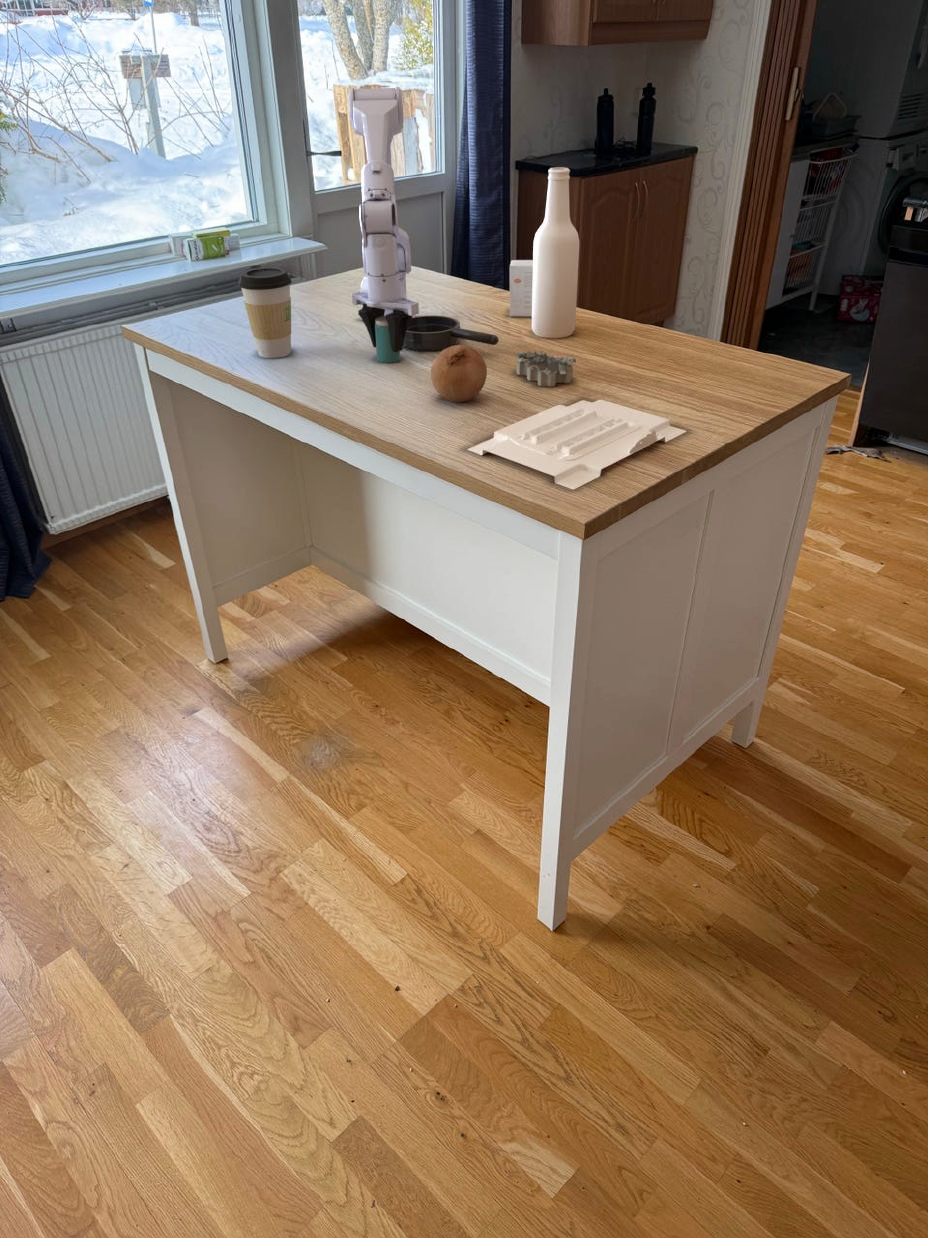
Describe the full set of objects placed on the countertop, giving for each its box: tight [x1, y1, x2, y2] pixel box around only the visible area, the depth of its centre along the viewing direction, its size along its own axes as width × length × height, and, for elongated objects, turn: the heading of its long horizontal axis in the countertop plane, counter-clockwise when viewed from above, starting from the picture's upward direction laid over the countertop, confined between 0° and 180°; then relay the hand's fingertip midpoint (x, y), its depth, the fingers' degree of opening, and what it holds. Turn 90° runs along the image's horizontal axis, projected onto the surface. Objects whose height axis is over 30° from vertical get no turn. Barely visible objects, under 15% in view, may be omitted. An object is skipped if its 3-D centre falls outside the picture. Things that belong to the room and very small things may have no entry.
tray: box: [466, 399, 687, 490], centre depth 135 cm, size 20×28×4 cm
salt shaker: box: [374, 316, 401, 364], centre depth 168 cm, size 4×4×8 cm
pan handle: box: [451, 327, 499, 346], centre depth 171 cm, size 11×2×2 cm, turn 53°
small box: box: [509, 259, 533, 318], centre depth 191 cm, size 8×6×10 cm
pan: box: [403, 315, 461, 352], centre depth 177 cm, size 12×12×4 cm
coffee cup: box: [238, 266, 293, 359], centre depth 170 cm, size 10×10×15 cm
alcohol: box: [531, 166, 580, 339], centre depth 174 cm, size 9×9×30 cm
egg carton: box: [513, 350, 577, 388], centre depth 158 cm, size 11×8×4 cm
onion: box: [430, 344, 488, 403], centre depth 149 cm, size 10×9×10 cm
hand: (387, 348), depth 169 cm, fingers closed on salt shaker, 4 cm apart
